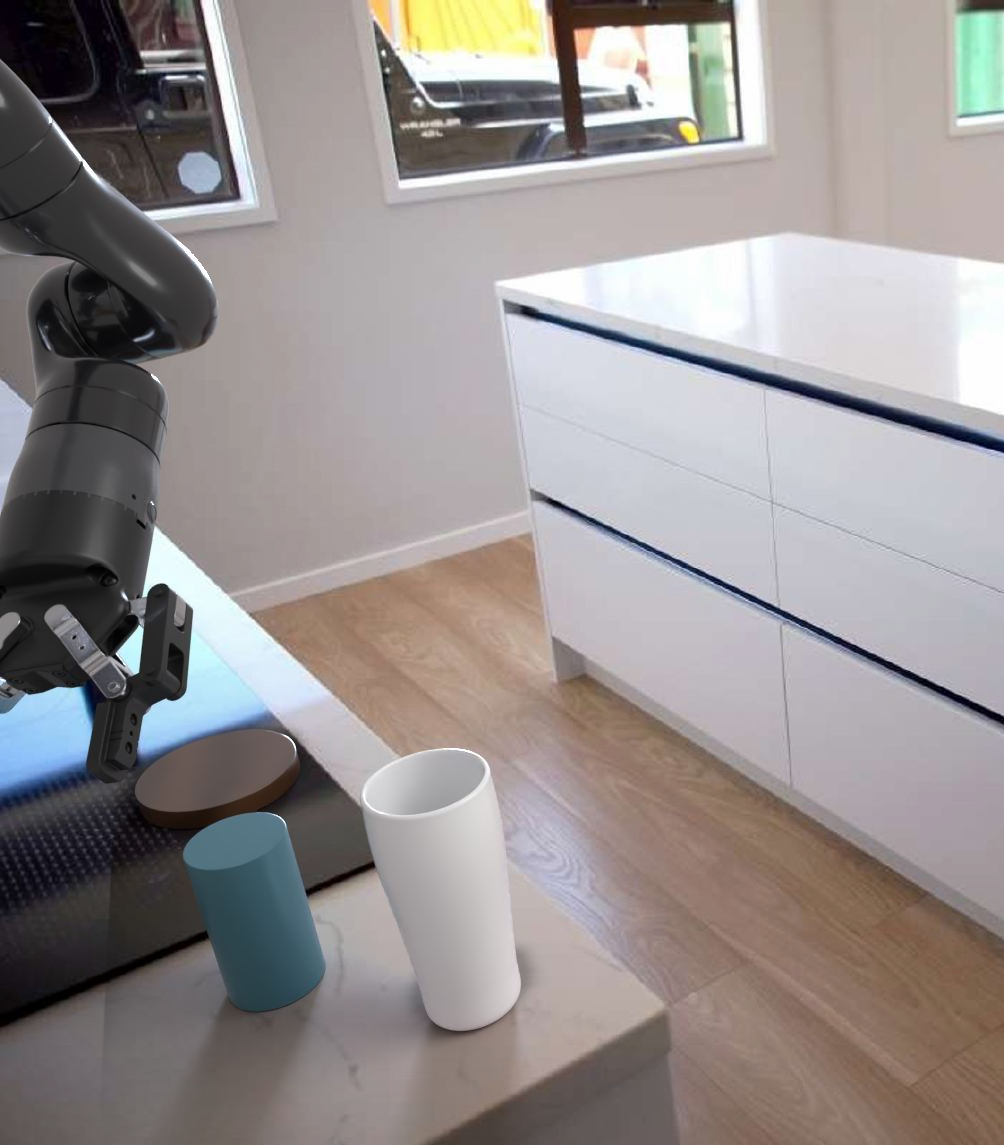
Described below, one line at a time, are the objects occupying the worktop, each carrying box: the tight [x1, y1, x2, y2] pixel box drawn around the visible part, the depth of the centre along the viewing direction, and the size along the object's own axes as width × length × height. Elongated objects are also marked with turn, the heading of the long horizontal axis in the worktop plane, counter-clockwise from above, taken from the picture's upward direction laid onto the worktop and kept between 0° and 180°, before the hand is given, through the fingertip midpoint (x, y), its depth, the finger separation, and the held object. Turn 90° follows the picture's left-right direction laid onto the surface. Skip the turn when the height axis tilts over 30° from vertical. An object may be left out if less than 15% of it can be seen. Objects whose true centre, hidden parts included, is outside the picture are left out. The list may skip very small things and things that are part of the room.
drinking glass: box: [359, 748, 522, 1032], centre depth 71 cm, size 7×7×15 cm
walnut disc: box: [134, 729, 301, 830], centre depth 97 cm, size 11×11×2 cm
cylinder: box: [182, 811, 327, 1013], centre depth 75 cm, size 5×5×10 cm
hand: (22, 790), depth 66 cm, fingers open, 8 cm apart
